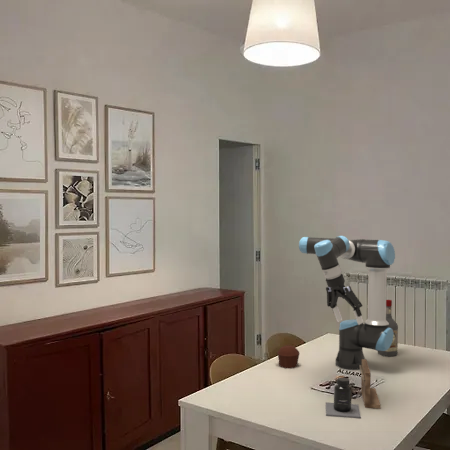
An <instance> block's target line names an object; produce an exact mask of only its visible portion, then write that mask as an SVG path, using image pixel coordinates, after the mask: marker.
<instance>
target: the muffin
mask: <svg viewBox="0 0 450 450" xmlns="http://www.w3.org/2000/svg"><path fill="white" fill-rule="evenodd" d="M276 354H277V358H278V364H279V366H280V367H281V368H282V369H283V368H284V369H295V368H297V367H298V363H299V357H300V351H299V350H298V349H297V348H296V347H295V346H293V345H283V346H281V347H280V348H279V349H278V350H277V352H276Z"/></svg>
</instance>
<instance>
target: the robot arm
mask: <svg viewBox="0 0 450 450" xmlns="http://www.w3.org/2000/svg"><path fill="white" fill-rule="evenodd" d="M298 248H299V251H300V253H302V254H306V255H308V254H309V255H316V258H317V260H318V262H319V264H320V268H321V270H322V271H321V272H322V273H323V276H324V279H325V283H326V287H325V290H326V303H327V307H328V308H329V307H330V308H331V310H332V313H333V314H334V317H335V320H336V322H337V323H339V322H340V323H339V329H338V330H339V331H338V333H339V334H338V336H339V337H338V339H339V340H338V352H337V354H336V358H335V366H336V367H338V368H341V369H344V370H345V369H346V370H360V367H359V366H360V365H361V366H362V359H366V358H365V354H364V351H363V348H365V349H369V350H373V351H374V350H375V351H377V352H378V351H386V350H388V349H389V347H390V346H391V344H392V341H393V330H392V329H391V328H389V323H388V322H387V321H386V300H387V275H388V271H389V270H390V269H391V266H392V265H393V264H394V263H395V259H396V252H395V247H394V245H393V244H392V242H390V241H389V240H384V239H363V238H362V239H358V238H357V239H348V238H347V237H346V236H344V235H338V236H336V237H334V238H331V237H311V236H310V237H309V236H303V237H301V238H300V240H299V241H298ZM339 257H340V258H342V259H343V260H349V261H353V262H356V263H362V264H363V263H364V264H365V268H366V270H368V276H367V277H368V281H367V283H368V285H367V286H368V287H367V319H365V320H364V318H363V314H362V311H361V308H362V307H363V304H362V302H361V300H360V299H359V298H358V297H357V295H356V294H355V292H354V291H353V289H352V287H351V286H350V285H348V286H345V282H346V279H345V277H344V275H343V274H342V273H343V271H342V268H341V265H340V263H339V261H338V258H339ZM339 298H342V299H344V300H345V301H346V302H347V303H348V304H349V306H350V307H351V308H352V309H353V310H352V311H353V314H354V317H355V319H345V320H344V319H343V317H342V313H341V311H340V308H339V306H338V299H339Z"/></svg>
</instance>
